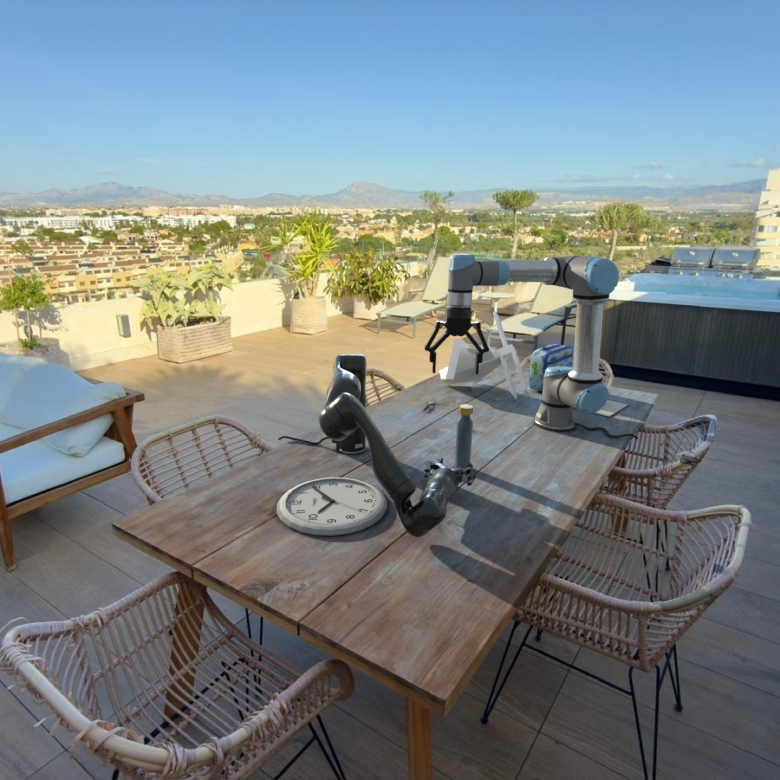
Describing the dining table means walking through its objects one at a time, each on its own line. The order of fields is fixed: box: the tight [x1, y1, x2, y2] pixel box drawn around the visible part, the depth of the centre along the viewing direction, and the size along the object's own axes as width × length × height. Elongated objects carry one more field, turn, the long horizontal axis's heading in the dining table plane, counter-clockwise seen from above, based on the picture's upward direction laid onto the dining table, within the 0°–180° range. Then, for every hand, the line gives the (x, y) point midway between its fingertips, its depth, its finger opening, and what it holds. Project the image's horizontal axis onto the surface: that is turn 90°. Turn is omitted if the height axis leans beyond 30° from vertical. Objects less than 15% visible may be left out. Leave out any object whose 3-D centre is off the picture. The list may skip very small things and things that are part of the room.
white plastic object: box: [438, 310, 531, 400], centre depth 245 cm, size 37×45×31 cm
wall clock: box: [276, 476, 388, 537], centre depth 142 cm, size 30×2×30 cm
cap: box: [458, 403, 474, 416], centre depth 160 cm, size 4×4×2 cm
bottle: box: [454, 414, 474, 469], centre depth 163 cm, size 5×5×20 cm
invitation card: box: [594, 399, 629, 418], centre depth 226 cm, size 21×1×15 cm
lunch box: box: [528, 343, 574, 392], centre depth 248 cm, size 26×11×21 cm, turn 134°
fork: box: [422, 395, 437, 412], centre depth 223 cm, size 3×16×2 cm, turn 160°
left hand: (455, 462), depth 155 cm, fingers open, 8 cm apart
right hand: (455, 372), depth 167 cm, fingers open, 13 cm apart
